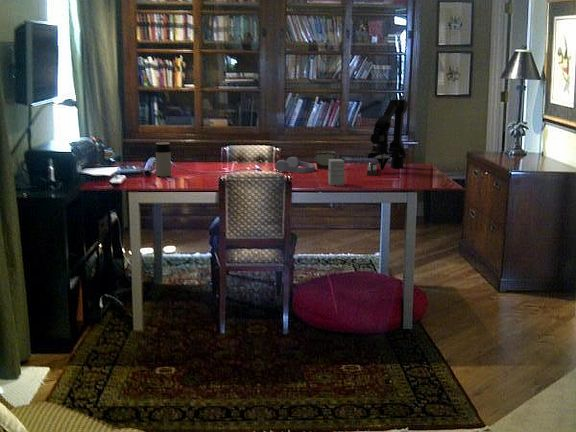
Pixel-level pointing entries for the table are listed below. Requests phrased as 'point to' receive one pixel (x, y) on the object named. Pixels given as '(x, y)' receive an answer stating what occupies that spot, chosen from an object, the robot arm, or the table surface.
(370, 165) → the tongs base
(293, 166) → the headphones
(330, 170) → the supplement box
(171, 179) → the table surface
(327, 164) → the food container
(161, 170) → the travel mug
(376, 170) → the tongs arm
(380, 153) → the robot arm
